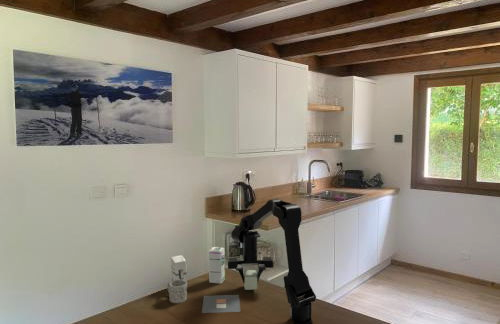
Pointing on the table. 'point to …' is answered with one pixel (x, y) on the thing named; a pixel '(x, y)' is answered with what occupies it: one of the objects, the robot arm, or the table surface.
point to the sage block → (250, 279)
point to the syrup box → (216, 265)
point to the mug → (177, 291)
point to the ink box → (179, 268)
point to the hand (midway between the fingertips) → (250, 282)
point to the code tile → (221, 304)
